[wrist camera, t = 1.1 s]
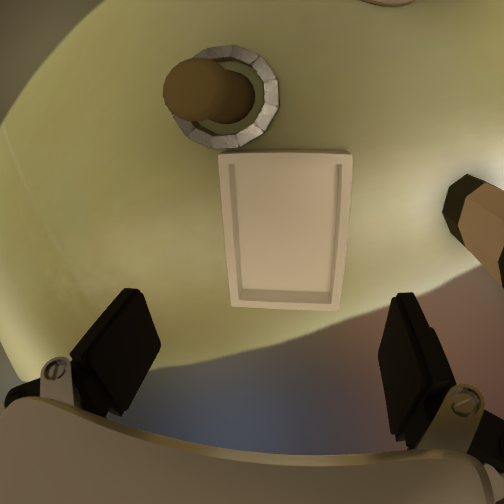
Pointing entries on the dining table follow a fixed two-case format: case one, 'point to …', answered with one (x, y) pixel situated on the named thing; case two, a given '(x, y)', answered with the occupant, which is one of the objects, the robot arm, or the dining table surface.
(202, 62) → the cork
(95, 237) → the dining table surface
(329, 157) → the white rectangular tray
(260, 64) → the stone ring
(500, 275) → the wine bottle
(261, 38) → the dining table surface
